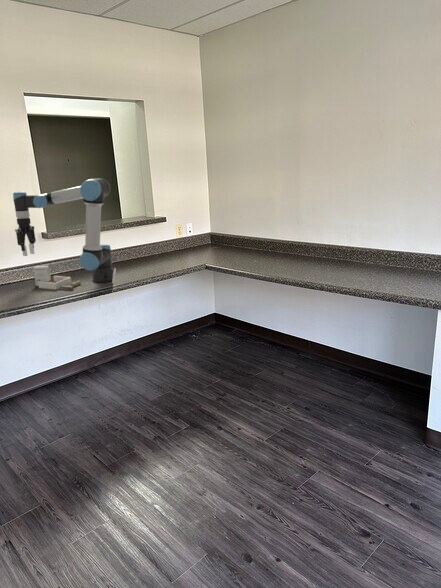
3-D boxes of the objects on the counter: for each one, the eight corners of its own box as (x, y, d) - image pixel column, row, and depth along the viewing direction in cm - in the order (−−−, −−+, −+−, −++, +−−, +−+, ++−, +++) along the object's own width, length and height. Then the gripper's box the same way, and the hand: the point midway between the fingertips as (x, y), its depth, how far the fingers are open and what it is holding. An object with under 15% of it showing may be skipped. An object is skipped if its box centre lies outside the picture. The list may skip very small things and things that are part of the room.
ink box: (51, 283, 284) (49, 265, 281) (49, 285, 280) (47, 267, 276) (38, 283, 284) (35, 265, 280) (35, 285, 279) (32, 267, 276)
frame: (71, 283, 283) (71, 277, 282) (56, 289, 270) (55, 283, 269) (55, 281, 287) (54, 275, 286) (38, 287, 274) (38, 281, 273)
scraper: (74, 283, 282) (73, 280, 281) (84, 284, 279) (84, 281, 278) (60, 289, 270) (60, 285, 270) (71, 290, 268) (70, 286, 267)
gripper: (29, 215, 282) (34, 251, 289) (6, 219, 265) (13, 257, 272) (38, 215, 279) (43, 252, 286) (16, 219, 263) (22, 258, 270)
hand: (28, 254), depth 279 cm, fingers open, 5 cm apart
